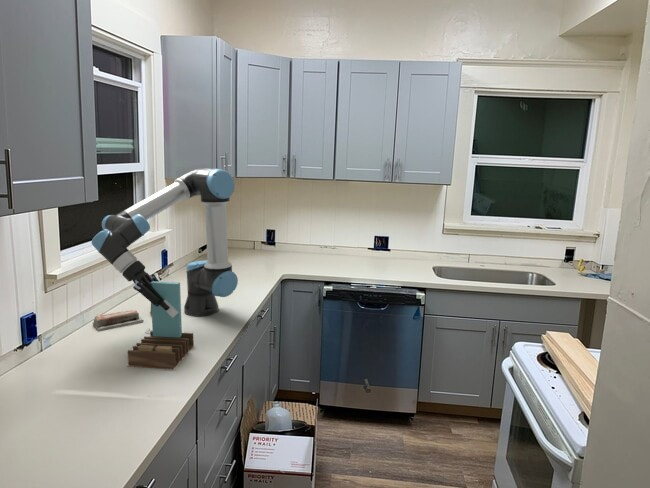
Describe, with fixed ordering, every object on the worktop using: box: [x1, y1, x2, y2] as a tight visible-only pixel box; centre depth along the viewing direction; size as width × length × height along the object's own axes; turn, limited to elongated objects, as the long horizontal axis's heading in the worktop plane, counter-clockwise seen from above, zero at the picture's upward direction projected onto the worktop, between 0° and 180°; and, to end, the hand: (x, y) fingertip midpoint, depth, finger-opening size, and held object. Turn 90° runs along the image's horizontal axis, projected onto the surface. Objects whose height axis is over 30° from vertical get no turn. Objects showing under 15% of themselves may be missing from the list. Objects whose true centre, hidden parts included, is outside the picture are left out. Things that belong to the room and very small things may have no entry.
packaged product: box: [92, 309, 144, 332], centre depth 199 cm, size 18×5×10 cm
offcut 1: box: [138, 345, 155, 351], centre depth 160 cm, size 2×5×6 cm, turn 85°
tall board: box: [150, 280, 183, 338], centre depth 170 cm, size 2×10×20 cm, turn 85°
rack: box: [126, 330, 195, 370], centre depth 166 cm, size 19×16×6 cm
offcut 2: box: [155, 346, 172, 352], centre depth 160 cm, size 2×5×6 cm, turn 86°
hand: (177, 313), depth 170 cm, fingers closed on tall board, 2 cm apart
